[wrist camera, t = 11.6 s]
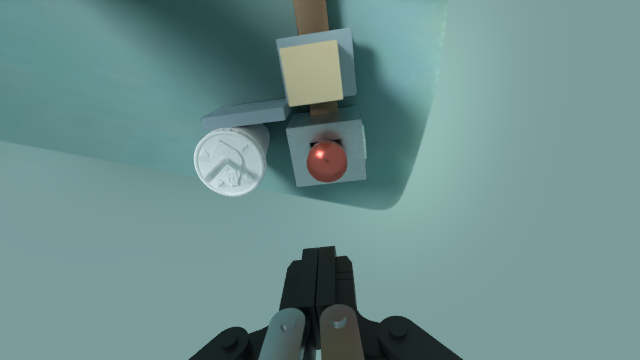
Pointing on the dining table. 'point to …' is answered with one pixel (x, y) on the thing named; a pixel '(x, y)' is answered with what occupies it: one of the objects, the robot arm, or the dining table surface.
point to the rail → (314, 20)
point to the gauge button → (327, 161)
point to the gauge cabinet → (328, 127)
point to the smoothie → (233, 159)
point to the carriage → (299, 79)
